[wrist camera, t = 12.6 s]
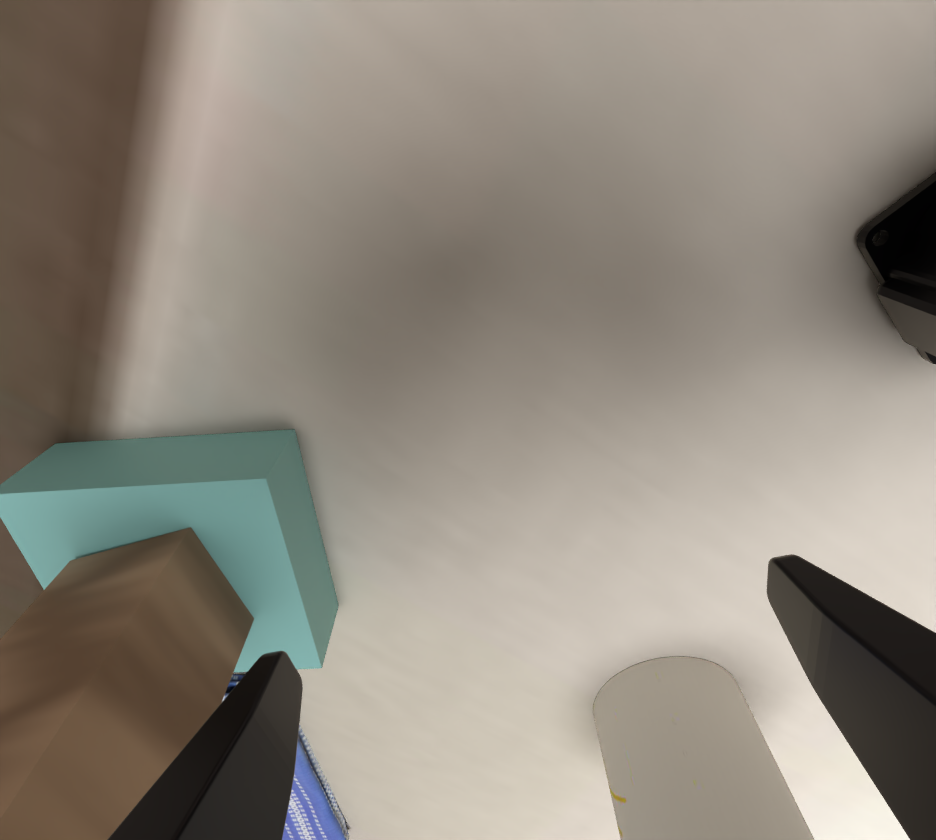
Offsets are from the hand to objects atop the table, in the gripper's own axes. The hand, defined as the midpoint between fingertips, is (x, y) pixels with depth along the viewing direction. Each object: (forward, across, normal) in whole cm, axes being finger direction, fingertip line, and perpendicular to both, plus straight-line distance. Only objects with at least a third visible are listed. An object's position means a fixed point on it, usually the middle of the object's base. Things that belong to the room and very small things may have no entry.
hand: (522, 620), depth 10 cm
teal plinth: (+13, +14, +5) cm, 20 cm away
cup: (+12, -6, +22) cm, 26 cm away
